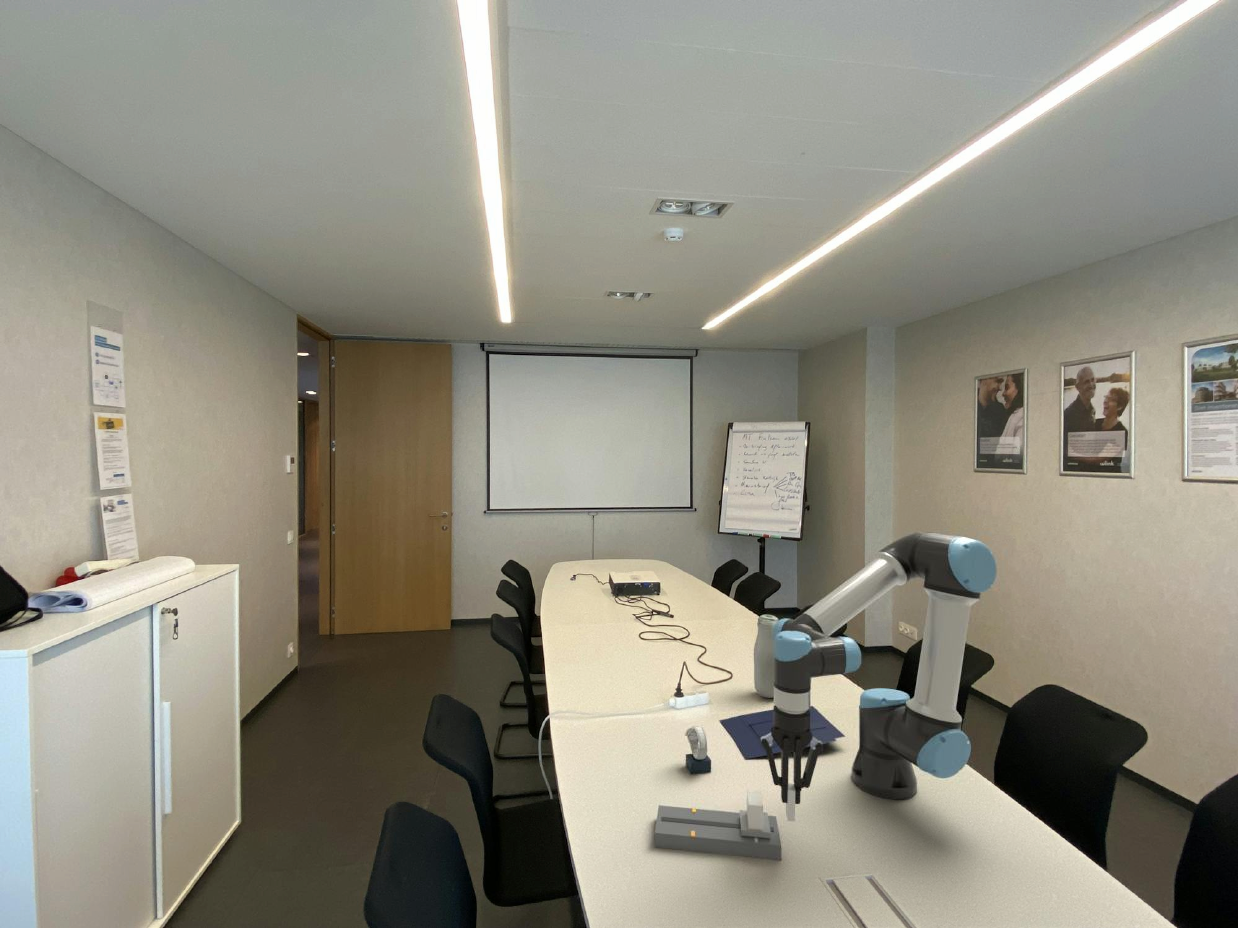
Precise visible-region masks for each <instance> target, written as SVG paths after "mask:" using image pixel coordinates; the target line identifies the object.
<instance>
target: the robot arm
mask: <svg viewBox="0 0 1238 928" xmlns="http://www.w3.org/2000/svg"><path fill="white" fill-rule="evenodd" d="M997 569H998V568H997V562H996V558H995V555H994V554H993V552H991V550H990V547H989V546H987V545H986V544H985V543H983V542H982V541H980V540H976V539H974V538H969V537H965V536H958V535H951V534H943V533H937V532H932V531H918V532H913V533H911V534H907V535H905V536H902V537H900V538H898V539H896V540H894V541H892V542H890V543H889V544H888V545H886V546H884V548H882V549H880V550H879V551H878V552H876V553H875V554H874V557H873V560H872V561H871V562H870V563H868V564H867V565H866V566H865V567H863V568H862V569H860V570H859V571H858V572H857V573H855V574H854V575H853V576H851V577H849V578H848V579H847V580H846V581H845V582H843V583H842V584H841V585H839V586H838V587H836V588H834V589H833V590H832V591H831V592H829V593H828V594H827V595H826V596H824V597H823V598H822V599H820V600H819V601H818V602H816V603H815V604H814V605H812V606H811V607H809V608H808V609H807V610H806V611H804V612H803V613H802V614H801V615H799V616H797V617H796V618H795V619H792V618H785V617H784V618H781V619H779V621H778V622H777V623H776V624H775V626H774V628H773V631H772V637H773V640H774V653H773V654H774V698H773V704H774V705H773V708H772V710H773V727H772V728H771V733H769V734H767V735H766V736H765V735H761V737H760V738H761V743H762V745H763V747H764V748H765V750H766V752H767V755H766V756H767V760H768V764H769V769H770V774H771V776H772V777H771V778H772V782H773V785H774V786H779V787H780V798H781V802H782V804H785V814H786V819H787V822H794V823H795V822H796V805H800V804H801V792H802V789H809V788H810V786H811V782H812V780H813V779H812V778H813V775H814V772H815V768H816V766H817V765H816V764H817V761H818V758H819V755H820V753H822V751H823V749H824V744H822V742H821V740H820V739H816V738H814V737H813V735H812V733H811V731H810V710H809V709H810V706H812V705H811V703H812V702H811V693H812V691H811V690H812V688H811V686H812V679H813V678H819V677H828V676H836V675H846V674H849V673H854V672H856V671H857V670H859V669H860V667H861V664H862V652H861V648H860V647H859V645H858V643H857V642H856V641H855V640H854V639H853V638H852V637H848V636H837V637H831V635H832V634H833V633H835V632H836V631H838V630H839V629H840V628H842V627H843V626H844V625H845V624H847V623H848V622H849V621H850V620H852V619H853V618H854V617H856V616H857V615H858V614H859V613H861V612H862V611H863V610H865V609H866V608H868V607H870V605H871V604H873V603H874V602H875V601H877V600H878V599H879V598H881V597H882V596H883V595H884V594H886V593H887V592H888V591H890V590H891V589H892V588H894V587H895V586H904V585H905V584H906V583H908V582H909V581H911V580H914V579H915V580H916V579H923V580H924V582H923V588H922V589H923V590H924V591H925V592H926V594H927V595H928V603H927V610H926V611H927V612H926V616H925V623H924V628H923V629H924V630H923V637H922V643H921V649H920V650H921V651H920V655H919V656H920V657H919V664H918V671H917V677H916V685H915V689H914V696H913V697H912V698H910V697H911V696H910V695H909V694H908V693H907V692H904V691H902V690H897V689H891V688H881V687H878V688H877V687H876V688H870V689H866V690H864V691H863V692H861V694H860V697H859V705H858V712H859V713H858V717H859V718H858V724H859V728H858V732H859V733H858V734H859V735H858V737H859V738H858V739H859V740H858V741H859V743H858V744H859V745H858V746H859V747H858V749H857V753H856V755H855V757H854V760H853V763H852V766H851V780H852V781H853V783H854V784H855V785H856V786H857V787H859V789H861V790H863V791H865V792H867V793H869V794H872V795H873V796H877V797H880V798H883V799H891V800H903V799H904V800H905V799H909V798H912V797H914V796H915V795H916V794H917V790H918V780H917V777H916V774H915V771H914V768H913V765H914V766H915V767H917V768H918V769H919V770H920V771H922V772H924V773H928V774H929V775H931V776H933V777H935V778H938V779H949V778H951V777H954V776H955V775H957V774H958V773H959V772H960V771H961V770H962V769H964V767H965V766H966V765H967V763H968V761H969V759H970V756H971V751H972V750H971V749H972V747H971V746H972V745H971V741H970V740H969V736H967V734H966V733H964V731H962V729H961V728H962V724H963V723H962V721H963V718H962V715H960V714H959V712H958V711H957V703H958V694H959V690H960V682H961V676H962V668H963V661H964V654H965V648H966V642H967V635H968V629H969V620H970V615H971V613H970V612H971V608H972V606H973V604H976V602H978V601H980V599H981V593H984V592H987V591H988V590H990V589H991V586H992V585H993V584H994V583H995V581H996V577H997ZM773 739H774V740H775V742H776V743H777V745H778V746H779V747H780V749H781V752H780V757H781V759H780V772H781V773H780V776H779V775H778V771H777V766H776V762H775V758H774V753H773V752H772V748H771V746H772V745H773V742H772V740H773ZM810 742H811V743H810ZM809 743H810V746H809V747H810V748H809V753H808V756H807V758H806V763H805V765H804V766H805V767H804V771H803V773H802V753H803V751H805V749H806V748H807V747H806V746H807V745H808V744H809ZM790 753H793V777H792V778H793V780H792V781H793V783H789V765H790V764H789V761H790V759H789V757H790Z"/></svg>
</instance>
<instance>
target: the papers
mask: <svg viewBox="0 0 1238 928" xmlns="http://www.w3.org/2000/svg"><path fill="white" fill-rule="evenodd" d="M809 710H810V731H811V733H812V735H813V737H814V738H816V739H820V740H821V742H822V745H826V744H827V743H832V742H836V741H837V739H841V738H845V737H846V735H844V733H842V732H841V731H840V730H839V729H838V728H837V727H836V726H834V725H833V724H832V723H831V722H830V721H829V720H828V719H827V718H826V717H825V716H824V715H823V714H822V713H821V712H820V711H818V709H817V708H815V707H814V706H813V705H811V706H810V709H809ZM719 721H720V723H721V724H722V725H723V727H724V728H725V729H726V731H727V732H728V733H729V734H730V736H731V737H732V738H733V740H734V742H735V744H736V745H737V747H738V748H739V750H740V752H741V754H742V755H743V758H744V759H747V760H748V759H752V758H759V757H763V756H764V757H765V756H767V752H766V750H765V748H764V747H763V745H762V743H761V738H760V737H761V735H765V736H766V735H767V734H769V733H771V728H772V727H773V709H768V710H761V711H758V712H751V713H747V714H741V715H737V716H732V717H729V718H728V717H727V718H724V719H723V718H722V719H720V720H719ZM772 742H773V745H772V746H771V748H772V752H773V754H777V753H781V749H780V747H779V746H778V745H777V743H776V742H775V740H774V739H773V740H772ZM810 743H811V742H810ZM810 743H809V744H808V745H807V746H806V748H808V747H811V746H810Z"/></svg>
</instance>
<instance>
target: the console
mask: <svg viewBox="0 0 1238 928" xmlns="http://www.w3.org/2000/svg"><path fill="white" fill-rule="evenodd" d="M768 819H769V825H770V831H771V838H761V837H751V836H741V827H740V812H733V811H723V810H714V809H713V810H712V809H703V808H696V807H692V808H690V807H681V806H672V805H671V806H670V805H661V804H659V805H658V810H657V815H656V821H655V828H654V829H655V830H654V847H655V848H664V849H673V850H682V851H689V852H690V851H692V852H701V853H710V854H711V853H712V854H720V855H729V856H739V857H747V858H748V857H749V858H758V859H767V860H776V861H777V860H778V861H779V860H780V861H782V840H781V837H780V836H781V835H780V832H779V831H780V830H779V825H778V819H777V816H775V815H768Z"/></svg>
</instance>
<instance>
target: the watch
mask: <svg viewBox="0 0 1238 928" xmlns="http://www.w3.org/2000/svg"><path fill="white" fill-rule="evenodd" d="M684 736H686V737H687V741H688V743H689V747H690V751H691V753H687V754H686V753H685V767H686V769H687V770H688V772H689V774H690V775H699V774H705V773H706V774H708V773H712V759H711V758H710V757H709V755H708V740H707V734H706V731H705V729H704V726H702V725H697V724H696V725H693V726H691V727H688V729H687V730H686V731H685V733H684Z"/></svg>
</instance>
